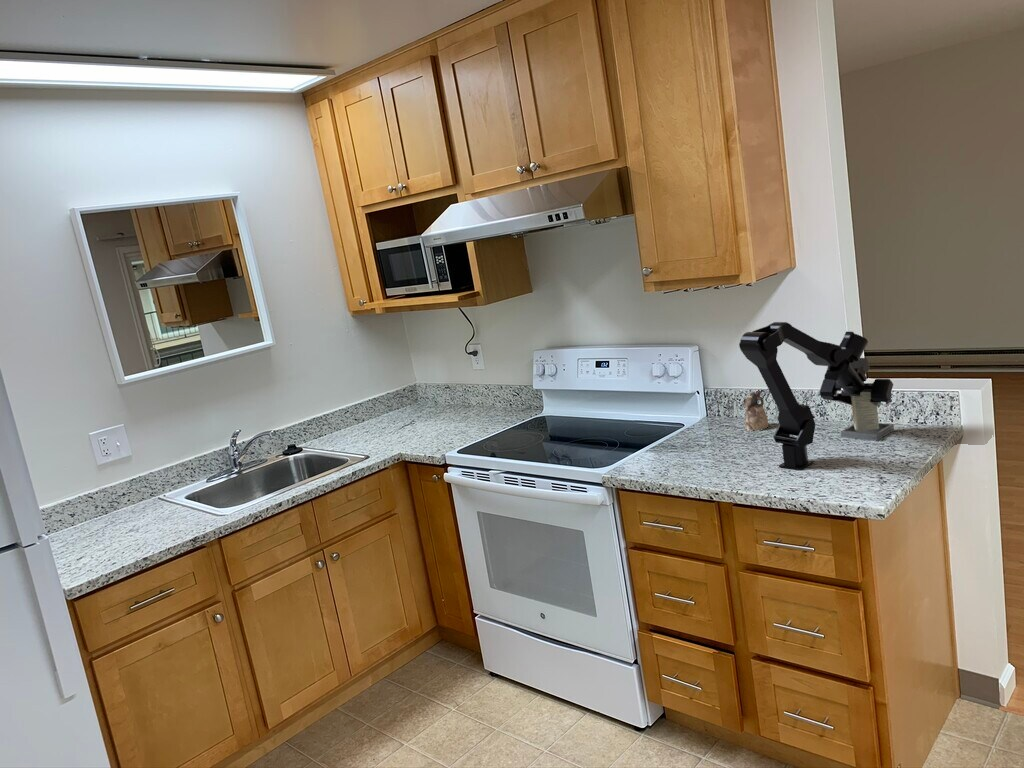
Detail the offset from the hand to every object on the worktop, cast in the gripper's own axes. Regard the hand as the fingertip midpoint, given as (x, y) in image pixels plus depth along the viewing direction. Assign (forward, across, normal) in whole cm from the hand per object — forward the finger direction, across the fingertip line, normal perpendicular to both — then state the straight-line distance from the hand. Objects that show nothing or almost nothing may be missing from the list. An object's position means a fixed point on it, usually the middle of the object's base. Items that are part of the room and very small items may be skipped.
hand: (866, 404), depth 217 cm
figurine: (+4, +34, +8) cm, 35 cm away
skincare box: (+4, 0, +6) cm, 7 cm away
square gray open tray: (+5, 0, +7) cm, 8 cm away
